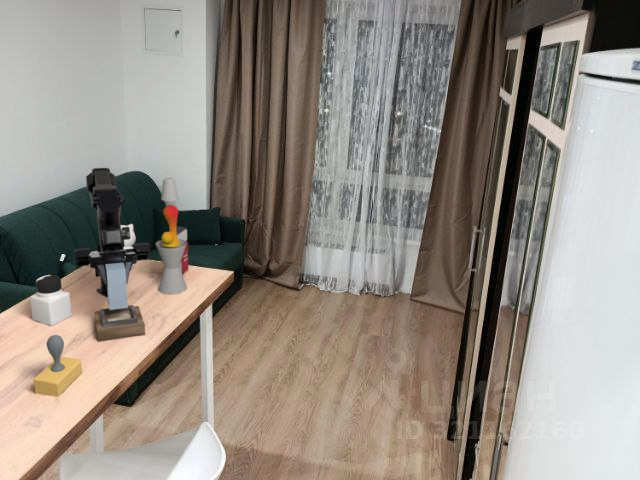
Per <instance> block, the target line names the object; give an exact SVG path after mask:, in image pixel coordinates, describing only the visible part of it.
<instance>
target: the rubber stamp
mask: <svg viewBox="0 0 640 480" xmlns="http://www.w3.org/2000/svg"><path fill="white" fill-rule="evenodd" d="M63 339H64V338H62V336H60V335H58V334H53V335H50V336H49V337H48V339H47V340H46V348H47V350H48V353H49V354H50V356H51V358H52V359H53V362H51V363H50V364H49V365H48V366H47V367H46V368H45V369H44V370H43V371H42V372H40V373H39V374H38V375H36V376H35V378H34V379H33V383H34V384H33V385H34V386H33V387H34V392H35V394H36V395H44V396H49V397H60V396H61V395H62V393H64V392H65V390H67V389H68V388H69V387H70V386H71V384H73V382H74V381H75V380H77V378H79V376H81V374H82V373H83V366H82V365H83V364H82V360H81V359H78V358H74V357H72V358H71V357H63V356H62V353H63V352H64V351H63V350H64V347H65V342H64V340H63Z"/></svg>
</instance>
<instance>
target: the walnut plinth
mask: <svg viewBox="0 0 640 480" xmlns="http://www.w3.org/2000/svg"><path fill="white" fill-rule="evenodd" d="M93 313H94V315H93V316H94V323H95V324H94V325H95V328H96V329H95V330H96V334H97V342H98V343H99V342H105V341H113V340H118V339H119V340H120V339H126V338H133V337H139V336H146V324H145V321H144V318H143V315H142V313H141V309H140V306H139V305H133V304H130V305H128V308H122V309H114V310H110V309H109V307H107V308H106V307H105V308H100V310H94V312H93Z"/></svg>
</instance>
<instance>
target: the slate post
mask: <svg viewBox="0 0 640 480" xmlns="http://www.w3.org/2000/svg"><path fill="white" fill-rule="evenodd" d="M105 267H106V276H107V283H108V286H107V295H108V297H107V305H108V308H109V309H110V310H114V309H122V308H128V306H129V305H128V290H127V288H128V286H127V284H126V271H125V266H124V263H114V264H105Z"/></svg>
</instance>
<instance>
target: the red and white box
mask: <svg viewBox="0 0 640 480" xmlns="http://www.w3.org/2000/svg"><path fill="white" fill-rule="evenodd" d="M176 231H177V237H178V239H182V240H184V241H186V243H187V244H186V247H185V250H184V253H183V256H182V259H181V262H180V265H179V267H180V270H181V273H182V275H183V274H184V273H186V272H187V271H188V270H189V244H188V243H189V242H188V229H187V227H184V226H177V225H176ZM168 232H170V230H169V231H168ZM164 268H165V266H164Z"/></svg>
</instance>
